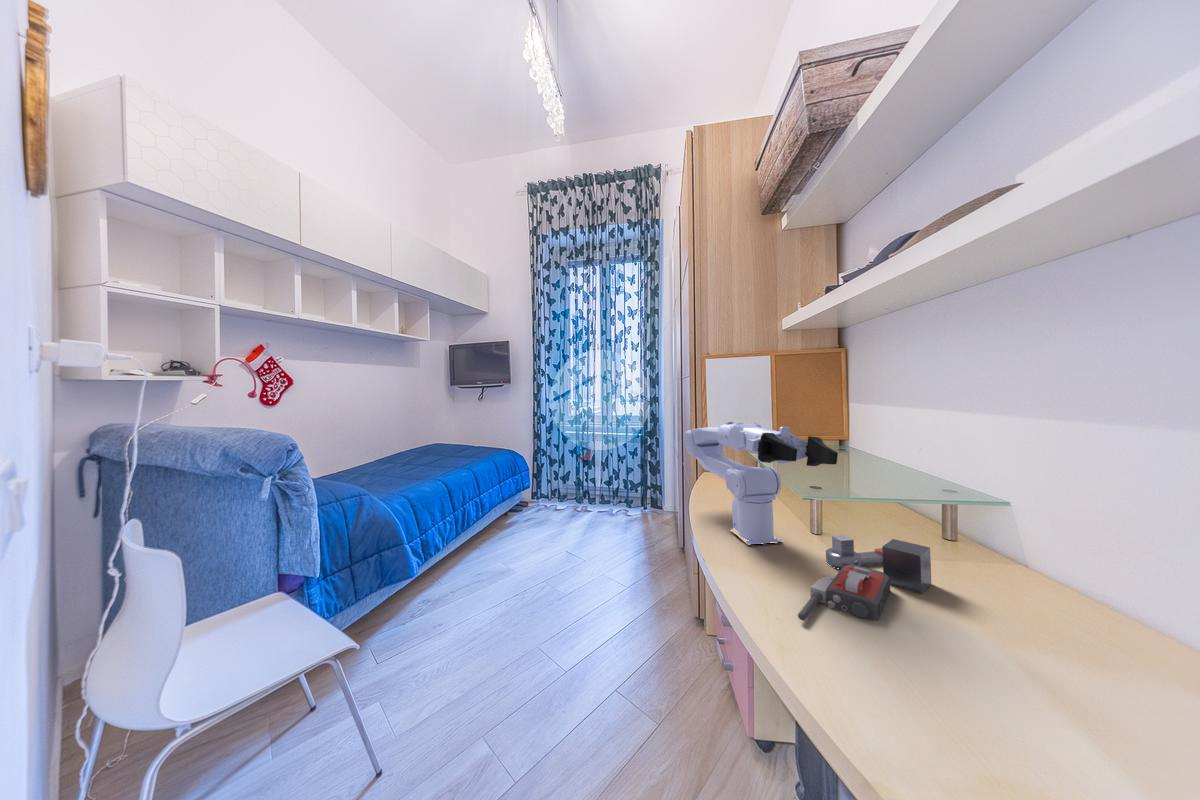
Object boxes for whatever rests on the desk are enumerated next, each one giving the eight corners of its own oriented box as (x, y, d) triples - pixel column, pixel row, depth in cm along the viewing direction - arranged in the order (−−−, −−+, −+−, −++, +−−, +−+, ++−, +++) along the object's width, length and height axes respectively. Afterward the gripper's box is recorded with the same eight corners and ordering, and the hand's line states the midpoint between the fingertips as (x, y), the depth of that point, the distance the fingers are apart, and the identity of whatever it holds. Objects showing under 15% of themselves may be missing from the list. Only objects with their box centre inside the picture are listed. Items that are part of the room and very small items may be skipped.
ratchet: (840, 572, 67) (839, 545, 67) (819, 559, 72) (818, 533, 72) (924, 565, 68) (923, 537, 68) (897, 552, 74) (896, 527, 74)
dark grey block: (883, 582, 63) (882, 546, 63) (894, 573, 66) (893, 538, 66) (921, 594, 59) (920, 556, 59) (931, 583, 62) (930, 547, 62)
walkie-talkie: (832, 573, 67) (792, 624, 53) (831, 549, 67) (791, 593, 53) (893, 590, 61) (867, 652, 47) (892, 563, 61) (866, 617, 47)
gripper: (738, 421, 76) (779, 429, 63) (802, 427, 78) (855, 437, 65) (734, 455, 77) (774, 471, 63) (798, 460, 79) (850, 477, 65)
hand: (815, 456), depth 64 cm, fingers open, 7 cm apart
